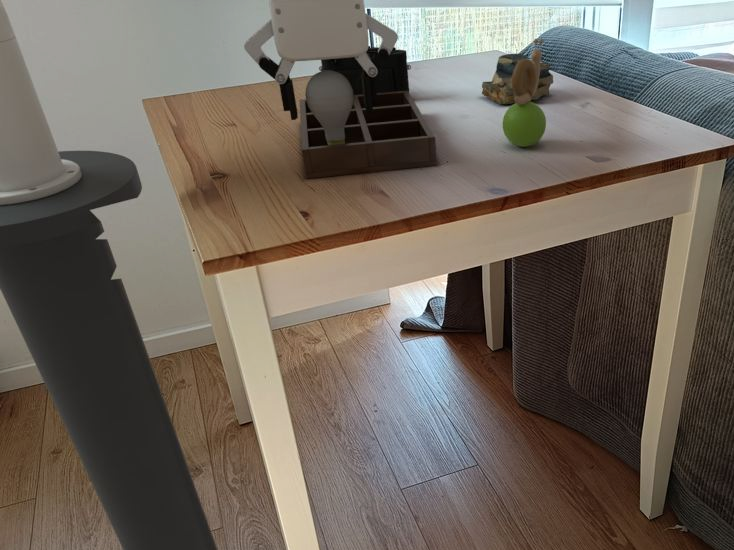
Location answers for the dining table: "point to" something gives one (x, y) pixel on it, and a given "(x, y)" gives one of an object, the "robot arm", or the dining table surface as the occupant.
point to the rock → (502, 80)
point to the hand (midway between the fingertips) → (332, 112)
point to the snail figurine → (525, 103)
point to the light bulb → (330, 103)
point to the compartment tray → (369, 138)
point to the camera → (387, 78)
